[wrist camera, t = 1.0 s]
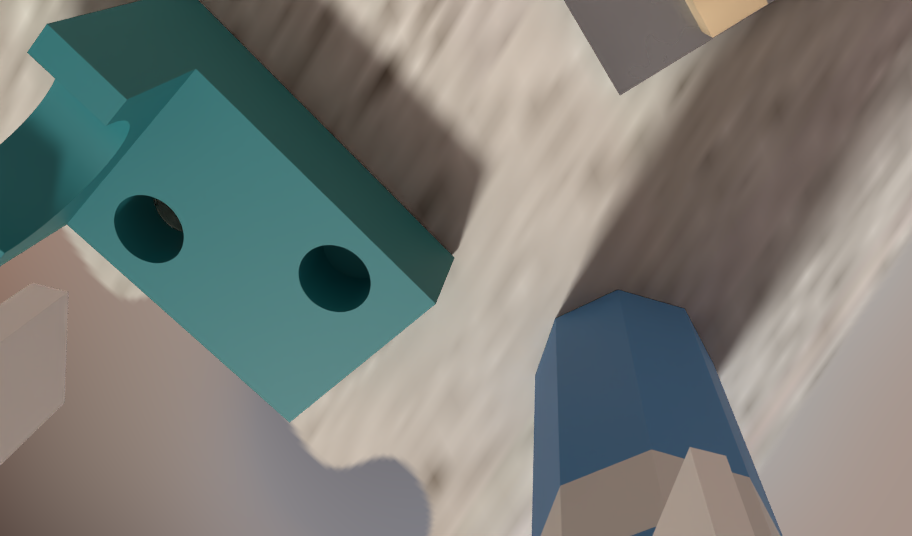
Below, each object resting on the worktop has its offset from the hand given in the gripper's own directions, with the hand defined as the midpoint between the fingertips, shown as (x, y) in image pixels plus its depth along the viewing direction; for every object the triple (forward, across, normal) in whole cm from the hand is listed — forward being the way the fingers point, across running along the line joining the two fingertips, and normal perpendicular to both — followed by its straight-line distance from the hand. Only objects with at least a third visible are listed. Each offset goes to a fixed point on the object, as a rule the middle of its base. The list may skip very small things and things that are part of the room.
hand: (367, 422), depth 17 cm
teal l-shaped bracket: (+25, -10, -5) cm, 27 cm away
